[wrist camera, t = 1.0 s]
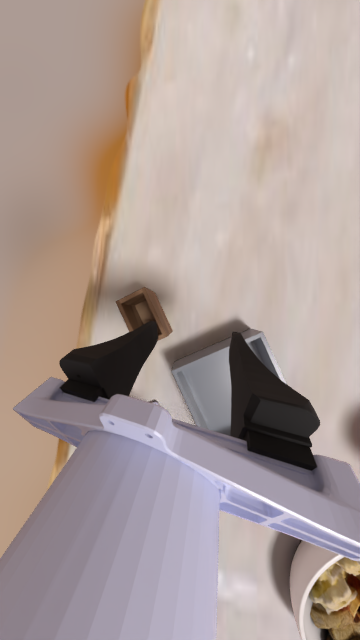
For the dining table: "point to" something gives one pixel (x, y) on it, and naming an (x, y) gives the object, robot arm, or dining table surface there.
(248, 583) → the dining table surface
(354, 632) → the bowl
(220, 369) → the grey crate
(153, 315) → the walnut crate
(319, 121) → the dining table surface
